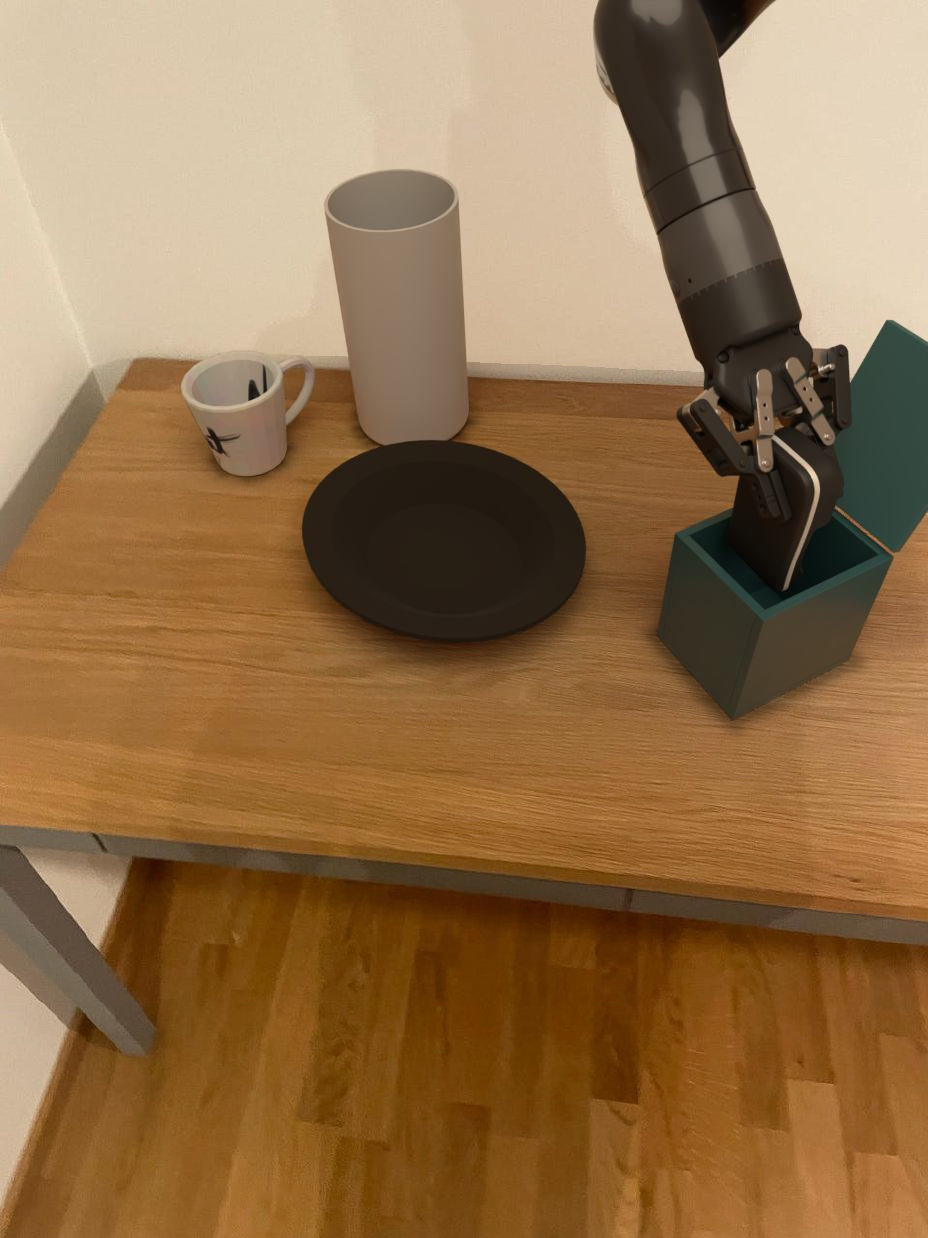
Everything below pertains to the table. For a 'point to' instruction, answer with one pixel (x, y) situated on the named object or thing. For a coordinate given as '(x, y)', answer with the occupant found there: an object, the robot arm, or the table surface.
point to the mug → (244, 407)
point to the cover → (887, 438)
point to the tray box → (766, 611)
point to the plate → (444, 541)
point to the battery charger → (811, 501)
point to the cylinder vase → (401, 302)
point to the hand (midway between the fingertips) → (806, 509)
